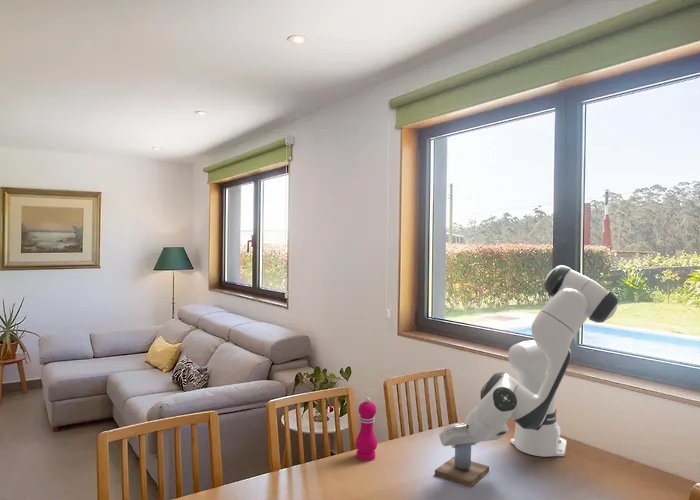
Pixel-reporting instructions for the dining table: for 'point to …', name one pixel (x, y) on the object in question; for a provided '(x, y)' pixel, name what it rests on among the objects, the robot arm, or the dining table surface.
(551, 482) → the dining table surface
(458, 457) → the spice jar
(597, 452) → the dining table surface
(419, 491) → the dining table surface
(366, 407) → the pepper mill
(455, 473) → the walnut board
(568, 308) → the robot arm
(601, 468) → the dining table surface
